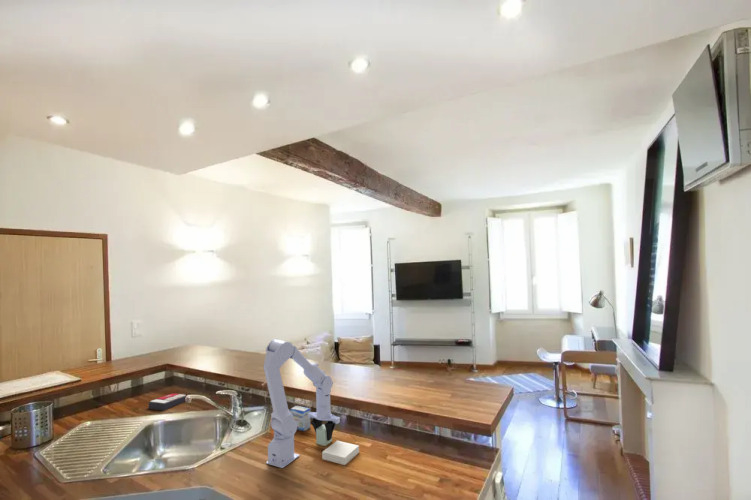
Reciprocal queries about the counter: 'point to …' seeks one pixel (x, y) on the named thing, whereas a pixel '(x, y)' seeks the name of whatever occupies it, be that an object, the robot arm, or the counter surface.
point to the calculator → (166, 401)
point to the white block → (340, 452)
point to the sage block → (322, 436)
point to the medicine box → (301, 417)
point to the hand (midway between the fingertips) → (324, 438)
